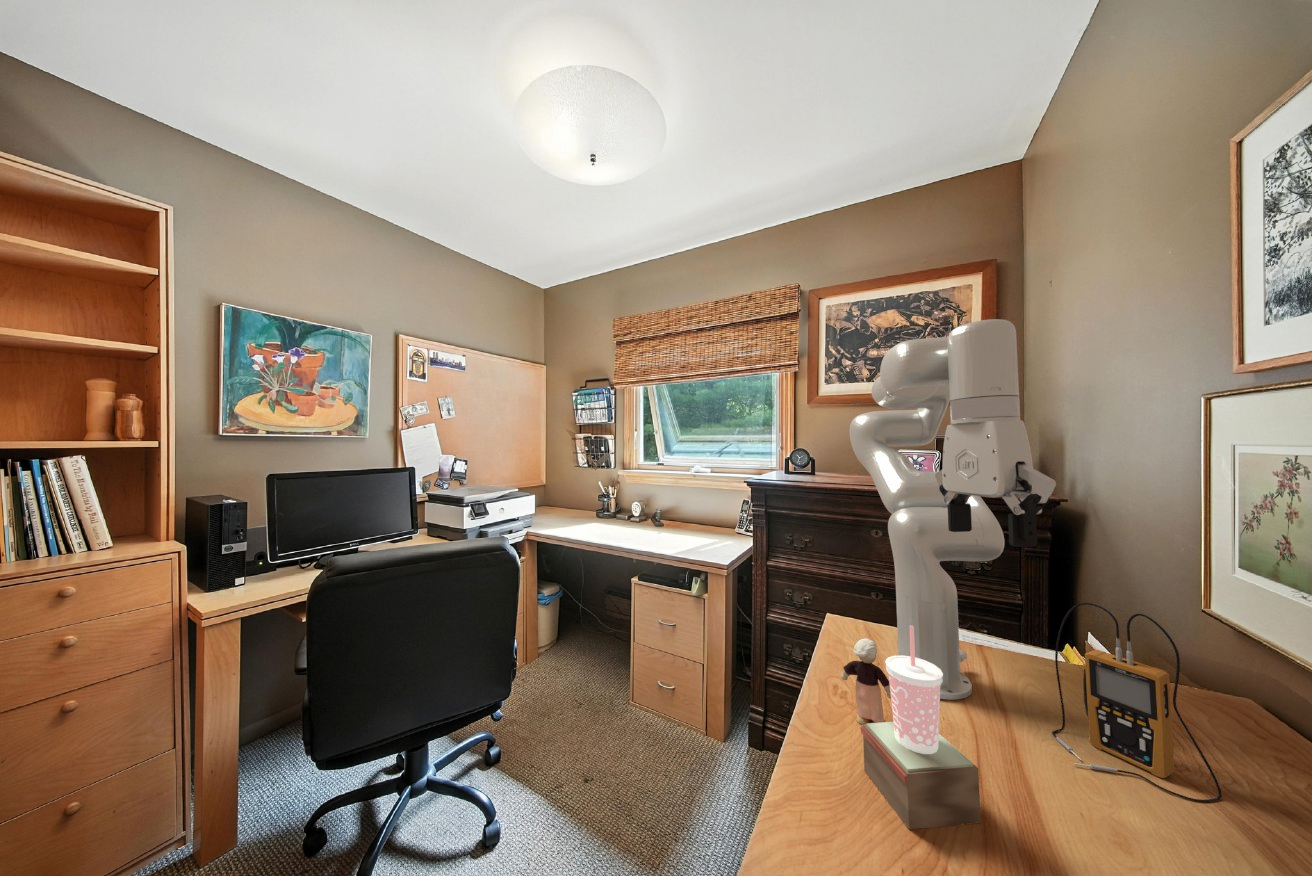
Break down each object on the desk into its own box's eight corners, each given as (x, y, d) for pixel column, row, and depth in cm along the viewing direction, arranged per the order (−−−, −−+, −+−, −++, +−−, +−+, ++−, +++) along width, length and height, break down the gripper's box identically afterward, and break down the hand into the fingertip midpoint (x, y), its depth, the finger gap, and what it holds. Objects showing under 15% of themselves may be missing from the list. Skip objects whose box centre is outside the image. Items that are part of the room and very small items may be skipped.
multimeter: (1029, 743, 60) (1022, 602, 60) (1066, 725, 64) (1059, 592, 64) (1190, 827, 46) (1179, 644, 47) (1224, 797, 50) (1213, 628, 51)
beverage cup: (880, 722, 55) (877, 615, 56) (931, 727, 54) (927, 618, 54) (898, 755, 49) (894, 634, 50) (956, 761, 48) (951, 638, 48)
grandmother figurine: (897, 723, 64) (894, 640, 65) (895, 737, 61) (892, 650, 62) (843, 707, 69) (841, 629, 69) (839, 719, 65) (836, 638, 66)
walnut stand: (925, 765, 56) (923, 717, 56) (980, 822, 47) (978, 765, 47) (862, 770, 55) (860, 722, 55) (906, 829, 46) (904, 771, 47)
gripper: (913, 418, 65) (918, 527, 65) (1017, 405, 48) (1024, 554, 48) (958, 418, 66) (963, 526, 65) (1077, 405, 49) (1084, 552, 48)
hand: (989, 538), depth 56 cm, fingers open, 9 cm apart
